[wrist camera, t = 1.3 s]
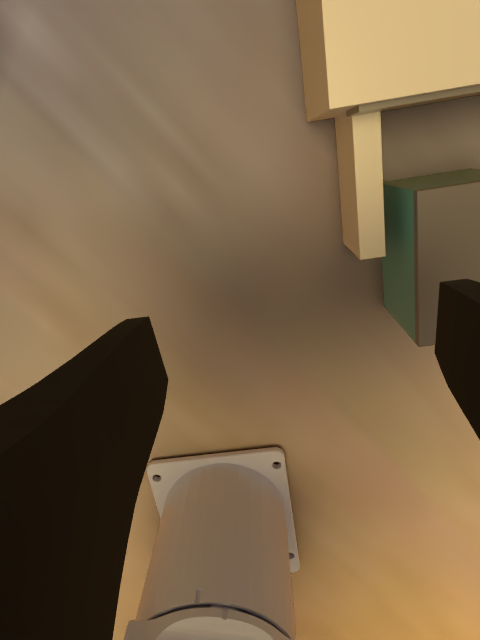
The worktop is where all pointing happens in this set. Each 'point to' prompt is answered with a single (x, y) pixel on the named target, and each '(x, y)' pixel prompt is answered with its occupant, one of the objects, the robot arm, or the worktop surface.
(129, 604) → the worktop surface
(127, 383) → the robot arm
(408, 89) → the bay
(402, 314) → the tall grey-green carton
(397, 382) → the worktop surface
